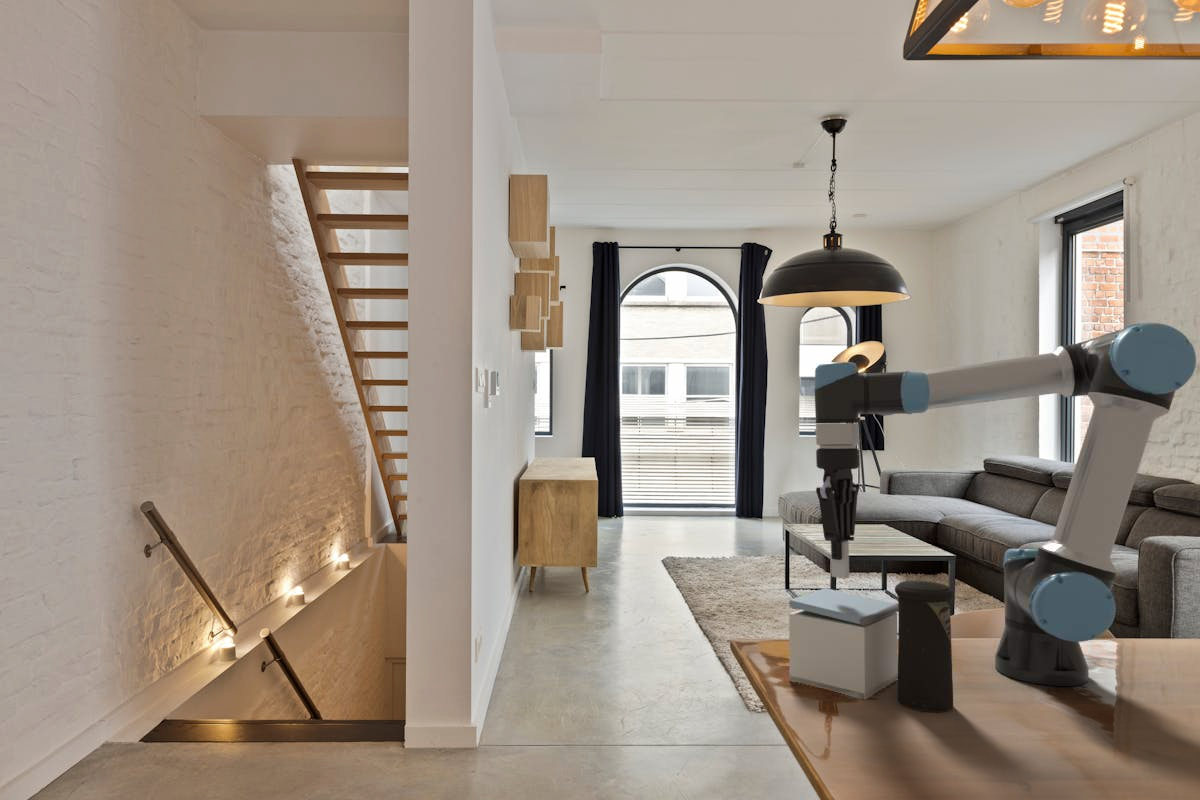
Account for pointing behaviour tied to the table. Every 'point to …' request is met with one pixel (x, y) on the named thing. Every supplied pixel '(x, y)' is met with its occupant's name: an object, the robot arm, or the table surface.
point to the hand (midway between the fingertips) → (840, 576)
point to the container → (924, 646)
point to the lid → (844, 606)
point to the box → (842, 653)
